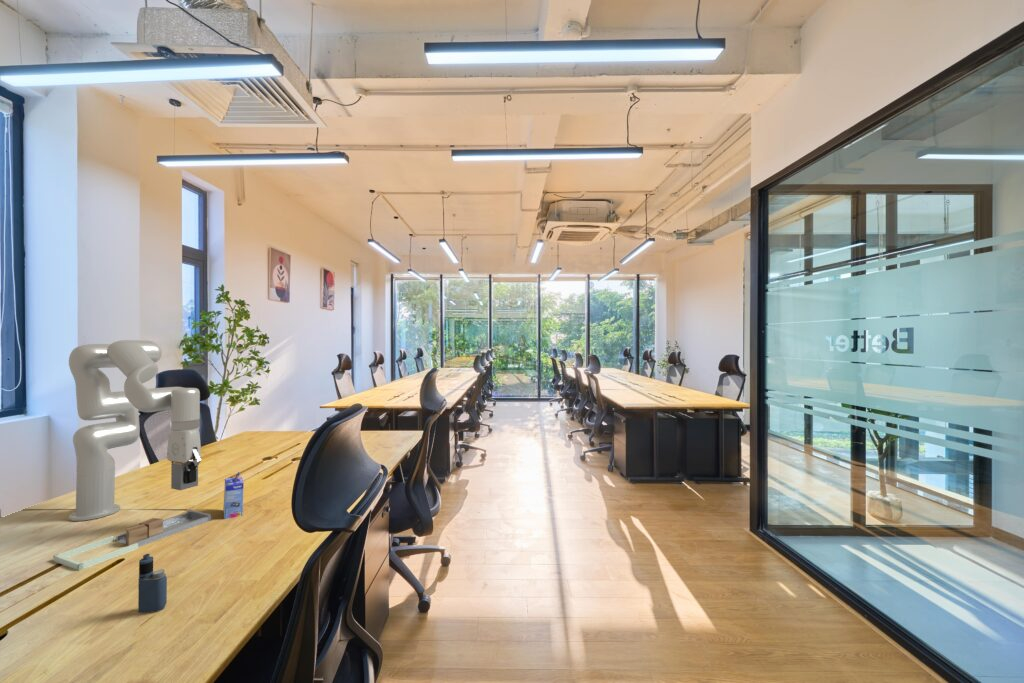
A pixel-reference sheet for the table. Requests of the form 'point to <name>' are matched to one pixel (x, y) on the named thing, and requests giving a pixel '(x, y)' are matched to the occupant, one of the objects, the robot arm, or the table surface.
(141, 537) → the brown cube
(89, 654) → the table surface
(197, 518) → the open rectangular box
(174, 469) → the orange and gray block
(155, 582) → the vaping device
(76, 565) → the tray
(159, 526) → the tan cardboard cube
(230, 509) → the ink cartridge box
